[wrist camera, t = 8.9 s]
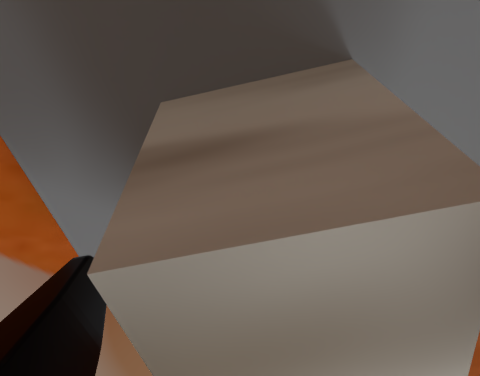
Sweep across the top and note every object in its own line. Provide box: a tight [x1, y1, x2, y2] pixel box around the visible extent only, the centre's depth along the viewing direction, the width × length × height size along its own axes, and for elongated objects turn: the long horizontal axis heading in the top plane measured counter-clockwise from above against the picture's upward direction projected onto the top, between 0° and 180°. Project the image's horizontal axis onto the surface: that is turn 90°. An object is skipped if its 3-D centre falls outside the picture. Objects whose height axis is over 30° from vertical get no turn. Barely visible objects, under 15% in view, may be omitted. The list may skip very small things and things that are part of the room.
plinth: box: [0, 0, 480, 257], centre depth 13 cm, size 14×14×5 cm
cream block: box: [87, 59, 480, 376], centre depth 8 cm, size 5×5×6 cm
